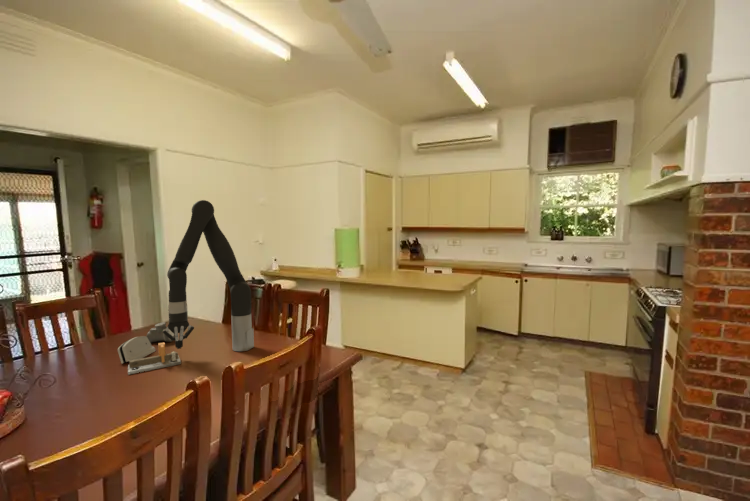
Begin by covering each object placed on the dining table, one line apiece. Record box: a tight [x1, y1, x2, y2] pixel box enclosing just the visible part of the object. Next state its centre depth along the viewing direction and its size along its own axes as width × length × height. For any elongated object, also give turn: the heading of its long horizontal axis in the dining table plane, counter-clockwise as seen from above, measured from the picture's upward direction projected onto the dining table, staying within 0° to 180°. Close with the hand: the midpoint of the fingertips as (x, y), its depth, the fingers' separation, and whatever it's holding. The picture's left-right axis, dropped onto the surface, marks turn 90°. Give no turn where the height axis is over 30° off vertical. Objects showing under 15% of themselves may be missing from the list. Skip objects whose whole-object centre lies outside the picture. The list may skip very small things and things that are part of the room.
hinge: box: [117, 335, 157, 364], centre depth 161 cm, size 17×5×10 cm, turn 179°
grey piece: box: [127, 351, 182, 376], centre depth 150 cm, size 19×9×5 cm, turn 125°
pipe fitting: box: [146, 321, 175, 343], centre depth 182 cm, size 12×8×10 cm
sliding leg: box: [157, 341, 167, 363], centre depth 152 cm, size 2×7×7 cm, turn 35°
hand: (179, 348), depth 158 cm, fingers closed
